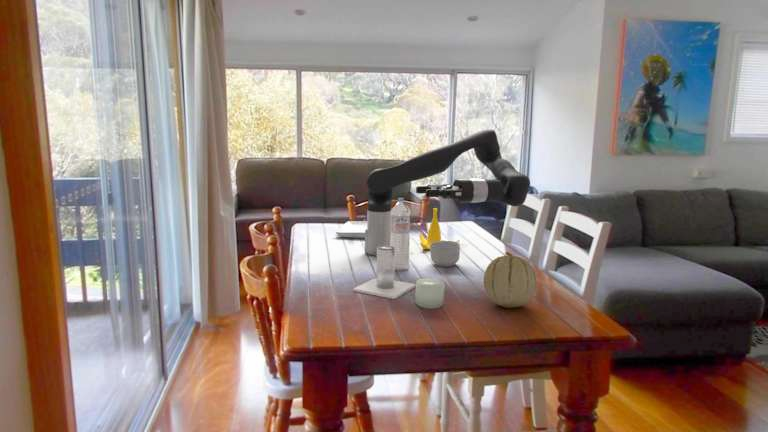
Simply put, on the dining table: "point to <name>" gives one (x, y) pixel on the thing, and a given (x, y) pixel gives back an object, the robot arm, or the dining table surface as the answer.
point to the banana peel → (432, 232)
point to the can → (385, 267)
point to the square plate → (353, 229)
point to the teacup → (445, 253)
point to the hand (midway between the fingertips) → (421, 191)
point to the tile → (388, 293)
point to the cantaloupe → (510, 281)
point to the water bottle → (400, 234)
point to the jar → (429, 293)
